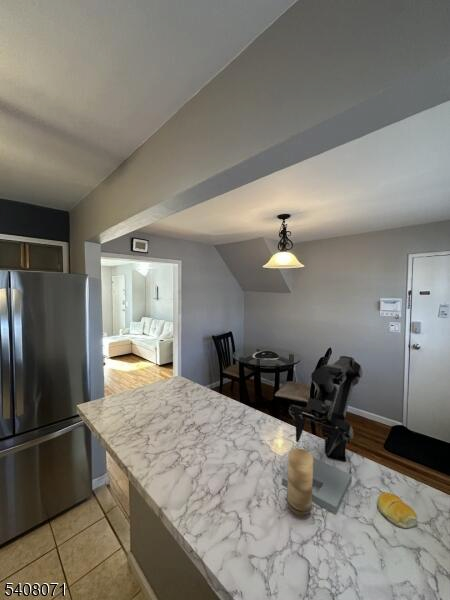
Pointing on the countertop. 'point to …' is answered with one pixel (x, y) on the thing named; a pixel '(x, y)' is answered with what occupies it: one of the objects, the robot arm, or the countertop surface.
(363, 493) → the countertop surface
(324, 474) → the slate board
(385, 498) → the bread roll
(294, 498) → the oak leg
